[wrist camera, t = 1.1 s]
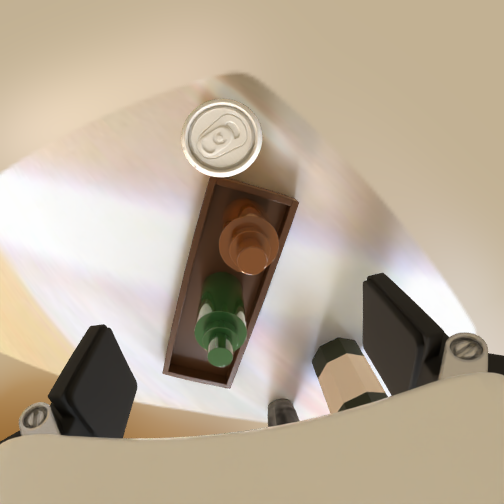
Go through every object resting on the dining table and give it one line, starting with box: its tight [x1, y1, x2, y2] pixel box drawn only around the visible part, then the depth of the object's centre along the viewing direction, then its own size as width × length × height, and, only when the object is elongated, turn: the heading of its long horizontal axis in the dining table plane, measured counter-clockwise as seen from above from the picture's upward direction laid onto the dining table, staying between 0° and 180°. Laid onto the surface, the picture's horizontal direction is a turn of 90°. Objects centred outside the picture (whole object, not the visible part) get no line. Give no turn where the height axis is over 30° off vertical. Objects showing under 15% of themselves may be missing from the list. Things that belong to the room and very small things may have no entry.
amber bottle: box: [219, 198, 279, 275], centre depth 31 cm, size 6×6×14 cm
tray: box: [163, 176, 299, 389], centre depth 40 cm, size 11×30×3 cm, turn 163°
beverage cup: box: [268, 399, 299, 427], centre depth 41 cm, size 7×7×20 cm
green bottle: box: [194, 272, 247, 367], centre depth 34 cm, size 6×6×14 cm
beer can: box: [181, 99, 262, 177], centre depth 28 cm, size 6×6×15 cm
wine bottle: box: [312, 338, 388, 414], centre depth 33 cm, size 8×8×30 cm
